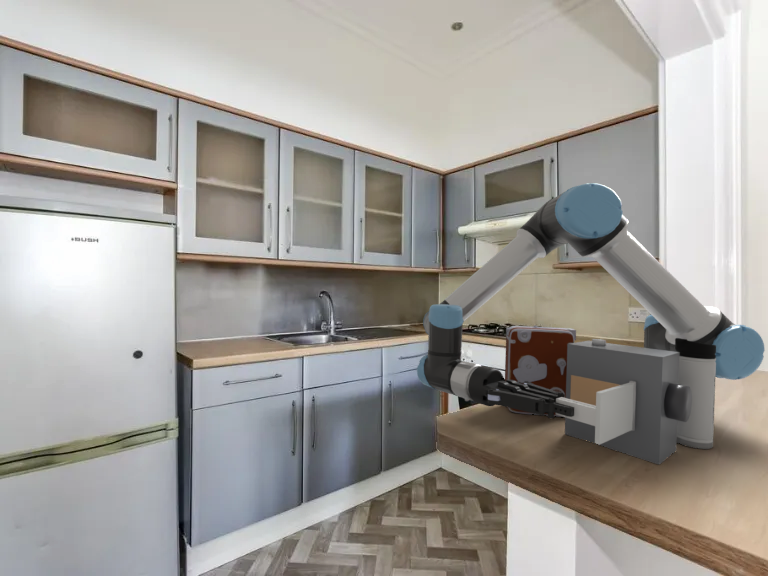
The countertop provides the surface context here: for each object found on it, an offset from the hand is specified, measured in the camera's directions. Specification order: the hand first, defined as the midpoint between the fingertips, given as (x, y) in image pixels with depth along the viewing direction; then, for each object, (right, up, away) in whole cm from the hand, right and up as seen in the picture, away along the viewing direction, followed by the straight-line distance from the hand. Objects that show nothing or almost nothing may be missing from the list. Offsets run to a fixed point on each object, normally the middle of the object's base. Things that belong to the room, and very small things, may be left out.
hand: (598, 416), depth 62 cm
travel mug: (+25, -10, +13) cm, 30 cm away
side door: (+4, -4, +3) cm, 7 cm away
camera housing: (+11, -9, +11) cm, 18 cm away
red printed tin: (+4, -9, +29) cm, 31 cm away
